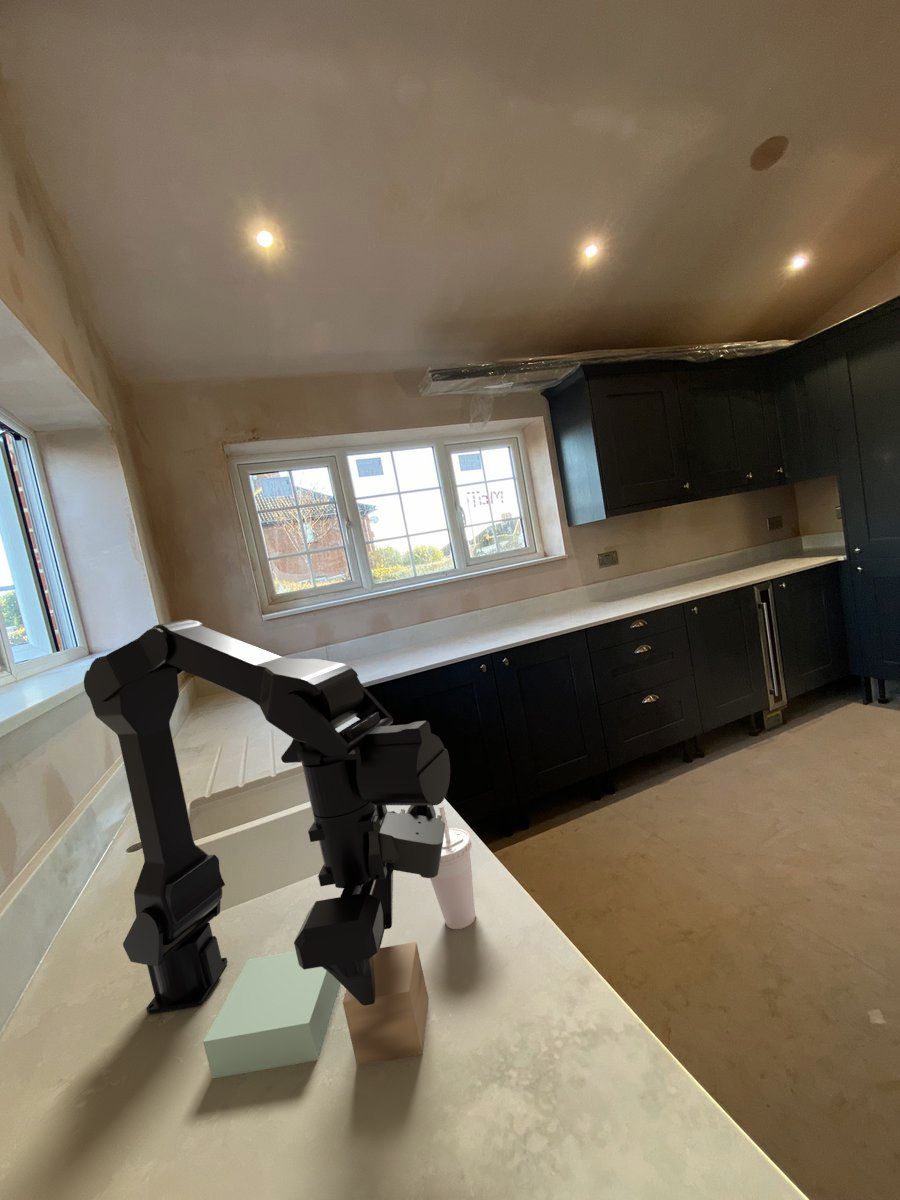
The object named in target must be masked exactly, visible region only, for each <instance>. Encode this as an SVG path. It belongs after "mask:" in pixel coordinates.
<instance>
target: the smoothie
mask: <svg viewBox="0 0 900 1200" xmlns="http://www.w3.org/2000/svg"><path fill="white" fill-rule="evenodd" d="M438 809H439V810H438V811H439V813H440V814H439V815H440V816H442V818H441V820H442V821H443V822H444V823H445V829H444V839H443V846H442V852H441V859H440V865H439V872H438V875H437V876H436V877H433V878H429V880H430V882H431V885H432V888H433V891H434V894H435V897H436V900H437V902H438V905H439V908H440V911H441V914H442V917H443V920H444V922H445V925H446V926H447V928H449V929H452V930H461V929H465V928H468V927H469V926H470V925H471V924H473V922H474V921H475V919H476V907H475V906H476V905H475V896H474V886H473V885H474V883H473V871H472V860H471V859H472V858H471V849H472V846H473V845H472V840H471V836H470V833H469V832H468V831H466V830H464V829H461V828H456V827H455V828H449V825H448V820H447V816H446V811H445V807H444V805H439V806H438Z"/></svg>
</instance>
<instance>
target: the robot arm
mask: <svg viewBox="0 0 900 1200" xmlns="http://www.w3.org/2000/svg"><path fill="white" fill-rule="evenodd" d="M184 672H185V673H188V674H190V675H192V676H195V677H197V678H200V679H202V680H204V681H207V682H208V683H211V684H213V685H215V686H218V687H220V688H222V689H224V690H227V691H229V692H230V693H234V694H235V695H238V696H240V697H242V698H245V699H247V700H250V701H252V702H253V703H255V704H256V705H257V706H259V708H260V710H261V712H262V714H263V716H264V718H265V720H266V722H268V723H269V724H271V725H272V726H274V727H275V728H277V729H278V730H279V731H281V732H282V733H285V735H287V736H288V737H290V738H292V740H291V743H290V744H289V746H288V748H286V749H285V751H284V752H283V754H282V755H281V757H280V758H281V759H280V760H281V762H282V763H284V764H291V763H292V764H293V763H295V764H296V763H301V766H302V771H303V775H304V781H305V784H306V788H307V793H308V798H309V803H310V807H311V811H312V815H313V819H314V821H313V823H312V824H311V826H310V827H309V829H308V831H307V832H308V835H309V841H310V843H314V842H319V849H320V851H321V856H322V862H323V864H322V867H321V869H320V871H319V873H318V875H317V878H318V882H319V887H326V886H332V885H334V887H335V888H338V889H343V890H342V892H341V894H340V896H338V897H333V898H332V897H331V898H326V899H321V900H316V901H315V902H314V904H313V905H312V907H311V908H310V909H309V911H308V913H307V914H306V917H305V919H304V921H303V923H302V925H301V927H300V930H299V931H298V933H297V934H296V937H295V940H294V941H293V944H294V949H295V951H296V954H297V958H298V963H299V966H301V967H302V968H303V969H310V968H317V967H323V968H324V969H325V970H326V971H328V972H329V973H330V974H331V975H333V976H334V977H335V978H336V979H337V980H338V981H339V982H340V985H342V986H343V987H344V989H345V990H346V989H347V990H348V991H349V992H350V993H351V994H352V995H353V996H354V997H355V998H356V999H357V1000H358V1001H359V1002H360V1003H361V1004H362V1005H364V1006H365V1005H371V1004H374V1003H375V976H374V960H373V956H374V955H375V954H376V953H377V952H378V951H379V949H380V948H381V946H382V942H383V937H384V933H385V930H389V929H391V928H392V926H393V902H394V901H393V898H394V897H393V896H394V895H393V890H394V871H397V872H402V873H403V872H404V873H407V874H408V873H409V874H415V875H419V876H420V877H421V878H424V879H430V878H433V877H436V876H437V875H438V872H439V865H440V859H441V852H442V846H443V839H444V829H445V823H444V822H443V821H442V819H441V818H442V816H441V814H439V815H437V813H436V810H435V808H434V807H435V806H438V805H440V804H442V803H443V802H444V800H445V798H446V796H447V793H448V790H449V787H450V780H451V762H450V755H449V751H448V749H447V748H445V746H444V743H443V742H442V740H441V737H439V736H438V735H436V734H433V733H432V729H431V726H430V722H429V721H428V720H420V721H419V720H418V721H413V722H410V723H407V724H397V725H391V724H393V722H394V718H393V716H392V715H391V714H390V713H389V712H388V711H387V710H386V708H384V707H383V705H382V704H381V703H380V702H379V701H378V700H377V699H376V698H375V697H374V696H373V695H372V694H371V693H370V691H369V690H368V689H367V688H366V687H365V686H364V685H363V684H362V683H361V681H360V679H359V678H358V677H359V675H358V673H357V671H356V670H354V669H353V667H351V666H349V665H347V664H346V663H343V662H338V661H337V662H336V661H331V660H325V659H319V658H292V657H284V656H280V655H277V654H275V653H273V652H270V651H267V650H265V649H262V648H259V647H257V646H255V645H252V644H249V643H247V642H244V641H242V640H240V639H236V638H234V637H231V636H229V635H227V634H223V633H222V632H219V631H217V630H213V629H211V628H208V627H206V626H204V625H203V623H202V622H200V621H199V620H194V619H190V618H187V619H181V620H176V621H170V622H165V623H160V624H156V625H154V626H152V627H151V628H149V629H147V630H146V631H145V632H144V633H142V634H141V635H140V636H139V637H138V638H136V639H134V640H132V641H130V642H128V643H127V644H124V645H123V646H121V647H118V648H117V649H116V650H114V651H111V652H110V653H107V654H105V655H102V656H99V657H97V658H95V659H94V660H93V661H92V662H91V664H90V666H89V669H87V670H86V671H85V674H84V679H83V688H84V691H85V693H86V696H87V697H88V698H89V700H90V703H91V706H92V709H93V712H94V715H95V717H96V718H97V719H98V720H99V721H101V722H102V723H103V724H104V725H106V726H107V727H108V728H109V729H110V730H111V731H112V732H114V733H115V734H116V735H117V738H118V742H119V747H120V750H121V756H122V760H123V761H122V762H123V765H124V770H125V775H126V778H127V784H128V788H129V792H130V797H131V801H132V807H133V810H134V817H135V821H136V824H137V825H136V826H137V830H138V834H139V839H140V843H141V844H140V845H141V848H142V849H141V850H142V854H143V858H144V859H143V860H144V862H143V865H142V868H141V870H140V874H139V877H138V878H137V879H138V880H137V882H136V885H135V888H134V891H133V896H134V907H135V919H134V920H133V923H132V925H131V926H130V928H129V931H128V933H127V935H126V937H125V938H124V941H123V943H122V947H123V949H124V951H125V953H126V955H127V958H128V959H129V961H130V962H131V963H134V964H135V963H136V964H141V965H146V966H147V970H148V974H149V978H150V982H151V987H152V990H153V995H154V997H153V999H152V1000H151V1001H150V1002H149V1004H148V1005H147V1006H146V1009H145V1010H146V1014H155V1013H161V1012H167V1011H172V1010H179V1009H185V1008H191V1007H196V1006H200V1005H202V1003H203V1002H204V1001H205V1000H206V998H207V996H208V995H209V993H210V991H211V990H212V988H213V987H214V986H215V984H216V982H217V980H218V979H219V977H220V976H221V974H222V973H223V971H224V969H225V968H226V967H227V964H228V959H227V957H222V955H221V950H220V947H219V942H218V938H217V936H216V935H213V931H212V927H211V923H210V921H212V920H213V919H214V918H215V917H217V916H218V915H220V914H221V900H222V897H223V888H224V886H226V883H225V882H224V881H225V880H224V879H223V876H222V874H221V868H220V859H219V857H218V856H217V855H216V854H208V853H207V852H206V851H204V850H203V849H201V847H199V846H198V845H196V843H195V840H194V835H193V831H192V826H191V822H190V821H191V820H190V816H189V813H188V807H187V802H186V797H185V792H184V788H183V783H182V779H181V773H180V768H179V763H178V758H177V754H176V749H175V745H174V740H173V734H172V730H171V723H170V722H171V718H172V716H173V713H174V711H175V708H176V706H177V704H178V703H177V702H178V699H179V697H180V690H179V689H180V687H179V686H180V685H179V676H180V675H181V674H183V673H184ZM354 718H358V720H356V721H355V722H353V723H351V724H350V725H348V726H346V727H345V728H343V729H342V730H340V731H338V730H337V728H339V727H341V726H343V725H345V724H346V723H348V722H349V721H351V720H353V719H354ZM387 806H409V808H408V809H407V811H406V809H405V808H403V809H402V808H401V809H400V812H399V813H397V812H396V811H395V810H392V811H389V810H388V808H387Z"/></svg>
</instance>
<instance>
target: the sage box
mask: <svg viewBox="0 0 900 1200" xmlns="http://www.w3.org/2000/svg"><path fill="white" fill-rule="evenodd" d="M340 986H341V983H340V982H339V981H338V980H337V979H336V978H335V977H334V976H333V975H331V974H330V973H329V972H328V971H326V970H325V969H324V968H323V967H317V968H310V969H303V968H302V967H301V966H299V963H298V958H297V954H296V950H291V951H286V952H281V953H280V952H279V953H276V954H271V955H265V956H258V957H254V958H248V959H247V961H246V962H245V964H244V967H243V968H242V970H241V971H240V974H239V976H238V977H237V979H236V981H235V983H234V985H233V986H232V989H231V990H230V992H229V994H228V996H227V998H226V999H225V1001H224V1003H223V1005H222V1007H221V1008H220V1011H218V1013H217V1016H216V1018H215V1019H214V1021H213V1023H212V1025H211V1027H210V1028H209V1030H208V1032H207V1034H206V1035H205V1037H204V1039H203V1041H202V1043H203V1046H204V1050H205V1055H206V1059H207V1062H208V1067H209V1071H210V1076H211V1079H217V1078H223V1077H229V1076H234V1075H241V1074H246V1073H252V1072H256V1071H257V1072H258V1071H262V1070H269V1069H274V1068H280V1067H285V1066H292V1065H297V1064H302V1063H303V1064H304V1063H309V1062H315V1061H318V1060H319V1057H320V1054H321V1051H322V1047H323V1045H324V1041H325V1036H326V1033H327V1030H328V1027H329V1024H330V1020H331V1016H332V1013H333V1010H334V1008H335V1004H336V1000H337V997H338V993H339V990H340Z"/></svg>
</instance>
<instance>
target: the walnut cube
mask: <svg viewBox="0 0 900 1200" xmlns="http://www.w3.org/2000/svg"><path fill="white" fill-rule="evenodd" d="M373 960H374V976H375V1003H374V1004H371V1005H365V1006H364V1005H362V1004H361V1003H360V1002H359V1001H358V1000H357V999H356V998H355V997H354V996H353V995H352V994H351V993H350V992H349V991H348V990H347V989H346V988H345V994H344V996H343V1000H342V1005H343V1009H344V1015H345V1019H346V1023H347V1027H348V1032H349V1036H350V1040H351V1044H352V1046H351V1047H352V1050H353V1054H354V1059H355V1062H356V1063H355V1064H356V1066H359V1065H365V1064H371V1063H377V1062H378V1063H379V1062H385V1061H390V1060H392V1061H393V1060H396V1059H397V1060H398V1059H403V1058H409V1057H410V1058H411V1057H416V1056H423V1055H424V1047H425V1046H424V1045H425V1038H426V1037H425V1035H426V1027H427V1026H426V1025H427V1018H428V1017H427V1016H428V1006H429V995H428V990H427V984H426V979H425V976H424V970H423V966H422V963H421V956H420V953H419V948H418V943H417V942H416V941H415V942H407V943H403V944H395V945H389V946H386V947H385V946H384V947H380V949H379V951H378V952H377V953H376V954H375V955H374V956H373Z"/></svg>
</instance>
